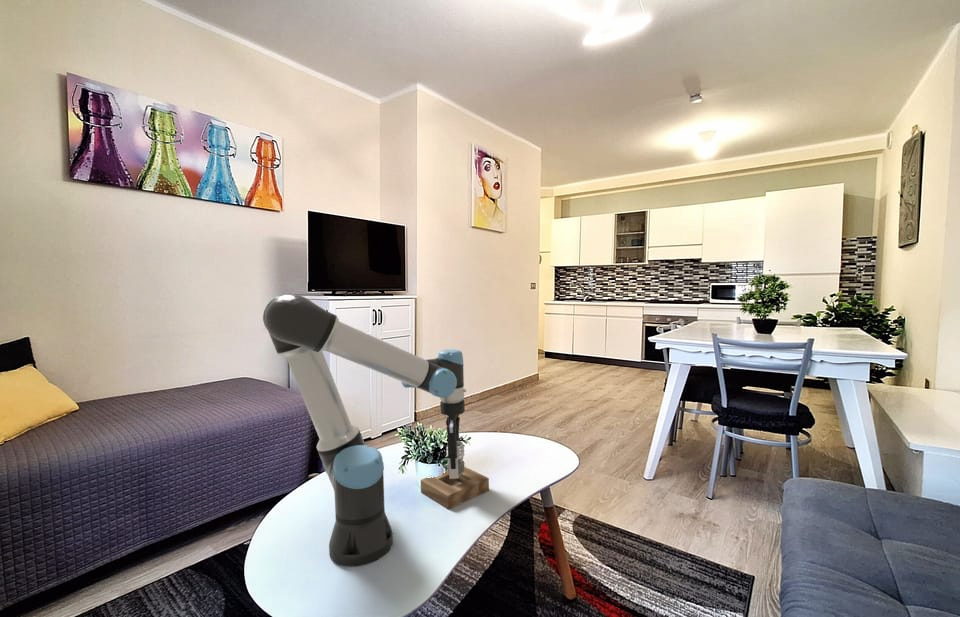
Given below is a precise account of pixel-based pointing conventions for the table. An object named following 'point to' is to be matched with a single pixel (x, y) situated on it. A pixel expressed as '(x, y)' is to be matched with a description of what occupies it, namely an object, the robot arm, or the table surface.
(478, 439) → the table surface
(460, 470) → the light bulb
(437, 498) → the socket board
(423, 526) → the table surface
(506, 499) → the table surface
